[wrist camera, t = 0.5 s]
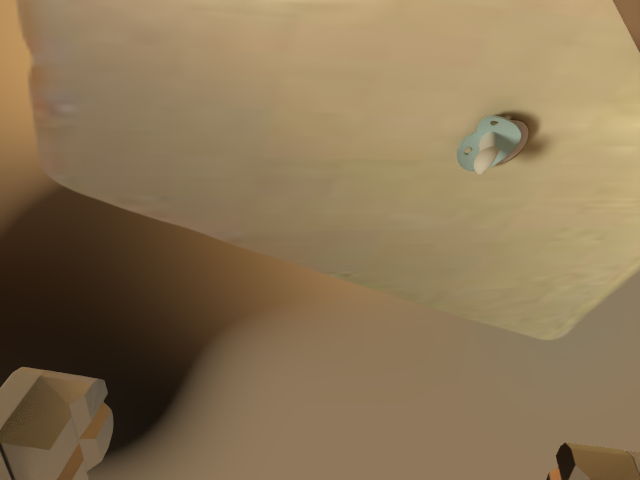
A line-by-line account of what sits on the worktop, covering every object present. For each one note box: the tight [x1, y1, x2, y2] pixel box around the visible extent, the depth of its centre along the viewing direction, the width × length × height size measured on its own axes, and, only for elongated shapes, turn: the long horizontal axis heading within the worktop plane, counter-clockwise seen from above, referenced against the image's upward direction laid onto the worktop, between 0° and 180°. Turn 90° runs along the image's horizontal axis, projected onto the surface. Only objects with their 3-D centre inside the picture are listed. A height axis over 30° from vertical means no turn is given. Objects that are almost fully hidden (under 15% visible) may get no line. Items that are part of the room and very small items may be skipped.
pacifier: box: [457, 116, 528, 175], centre depth 59 cm, size 7×6×6 cm
